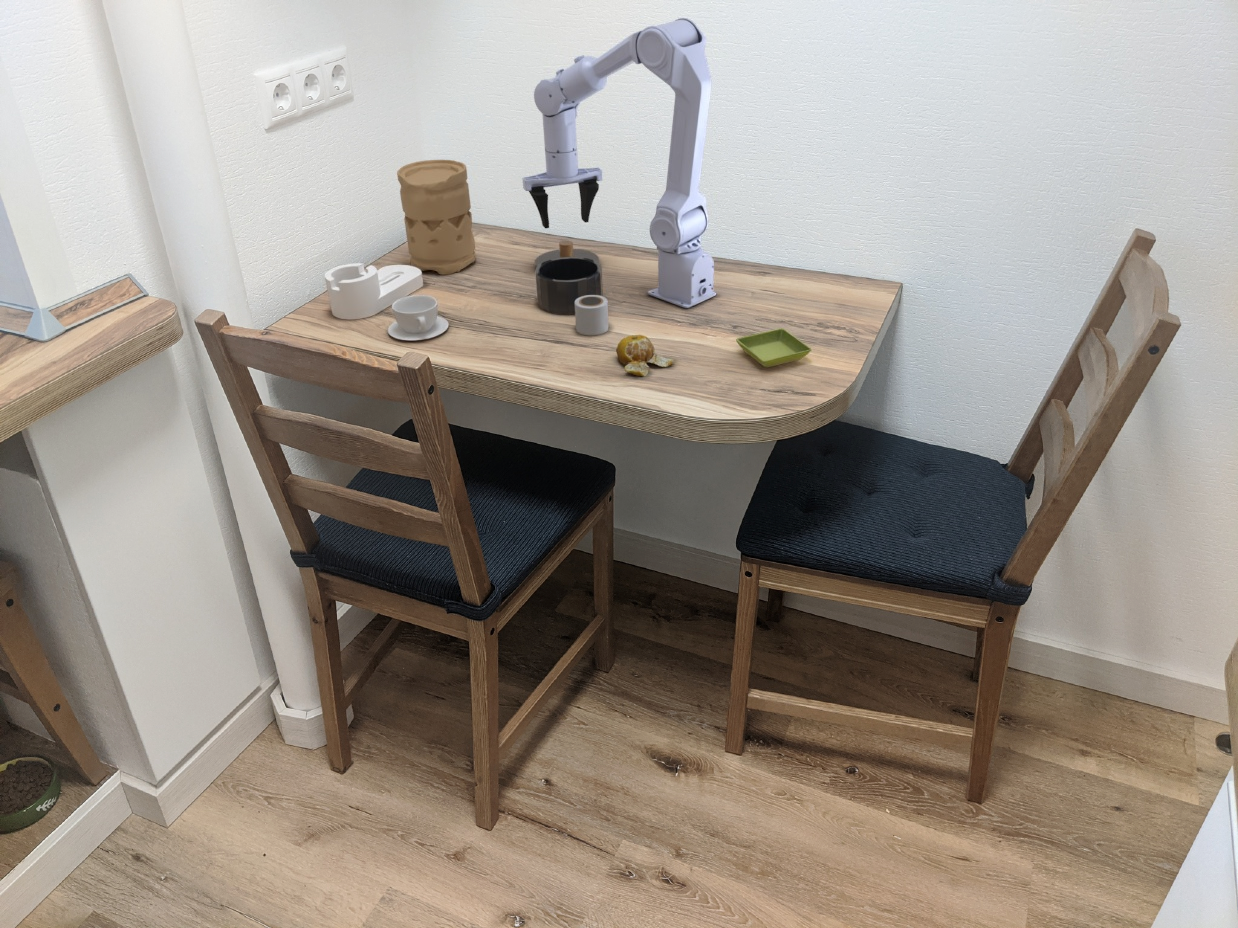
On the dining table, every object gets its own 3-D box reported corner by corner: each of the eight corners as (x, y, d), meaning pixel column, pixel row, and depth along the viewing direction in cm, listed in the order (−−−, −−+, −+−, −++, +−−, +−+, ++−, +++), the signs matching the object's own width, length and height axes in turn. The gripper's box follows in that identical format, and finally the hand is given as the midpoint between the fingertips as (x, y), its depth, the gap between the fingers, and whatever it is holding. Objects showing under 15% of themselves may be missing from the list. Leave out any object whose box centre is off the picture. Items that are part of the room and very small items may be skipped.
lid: (612, 264, 182) (611, 241, 179) (564, 283, 175) (563, 259, 172) (569, 249, 189) (568, 227, 187) (522, 266, 182) (520, 243, 180)
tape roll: (615, 328, 158) (614, 300, 155) (591, 338, 155) (590, 310, 152) (593, 318, 161) (591, 291, 159) (569, 329, 158) (567, 301, 156)
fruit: (633, 380, 143) (633, 357, 141) (602, 360, 148) (601, 338, 146) (677, 364, 146) (677, 342, 144) (645, 345, 152) (645, 324, 150)
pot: (616, 300, 168) (615, 268, 164) (567, 320, 161) (565, 287, 158) (572, 283, 174) (570, 252, 171) (524, 302, 168) (521, 270, 165)
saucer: (762, 373, 143) (763, 361, 142) (733, 350, 150) (734, 338, 149) (812, 361, 146) (813, 349, 145) (781, 339, 153) (782, 327, 152)
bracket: (360, 323, 162) (353, 286, 159) (321, 314, 166) (313, 278, 162) (431, 281, 177) (426, 246, 173) (393, 274, 180) (388, 240, 177)
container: (471, 274, 179) (460, 178, 170) (405, 275, 180) (390, 180, 170) (480, 250, 190) (470, 158, 180) (417, 251, 190) (404, 160, 180)
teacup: (382, 324, 162) (378, 298, 159) (440, 313, 165) (436, 287, 162) (395, 347, 154) (391, 321, 151) (455, 335, 157) (452, 309, 154)
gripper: (592, 139, 175) (595, 212, 182) (515, 148, 171) (522, 222, 178) (605, 148, 169) (607, 223, 177) (526, 158, 165) (532, 234, 173)
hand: (565, 223), depth 177 cm, fingers open, 7 cm apart
